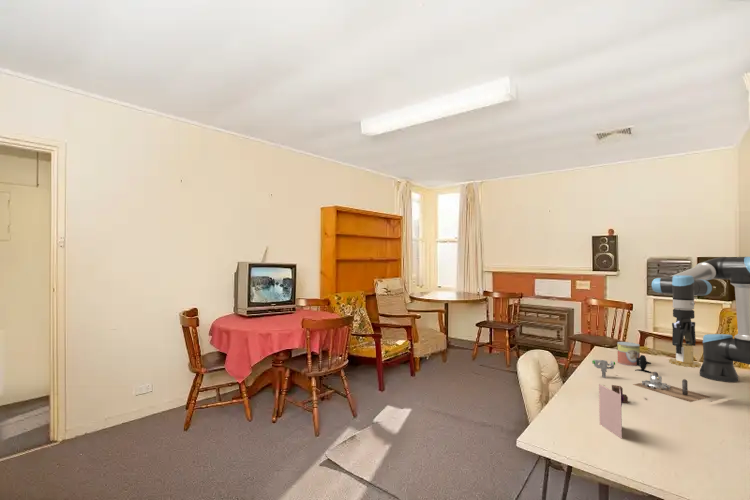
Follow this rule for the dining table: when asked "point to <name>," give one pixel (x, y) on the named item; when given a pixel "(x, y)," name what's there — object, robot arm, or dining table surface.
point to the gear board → (678, 391)
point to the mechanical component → (603, 366)
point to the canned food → (628, 353)
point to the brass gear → (686, 358)
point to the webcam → (642, 363)
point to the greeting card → (610, 410)
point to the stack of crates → (617, 390)
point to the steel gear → (656, 383)
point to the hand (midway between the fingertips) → (684, 360)
